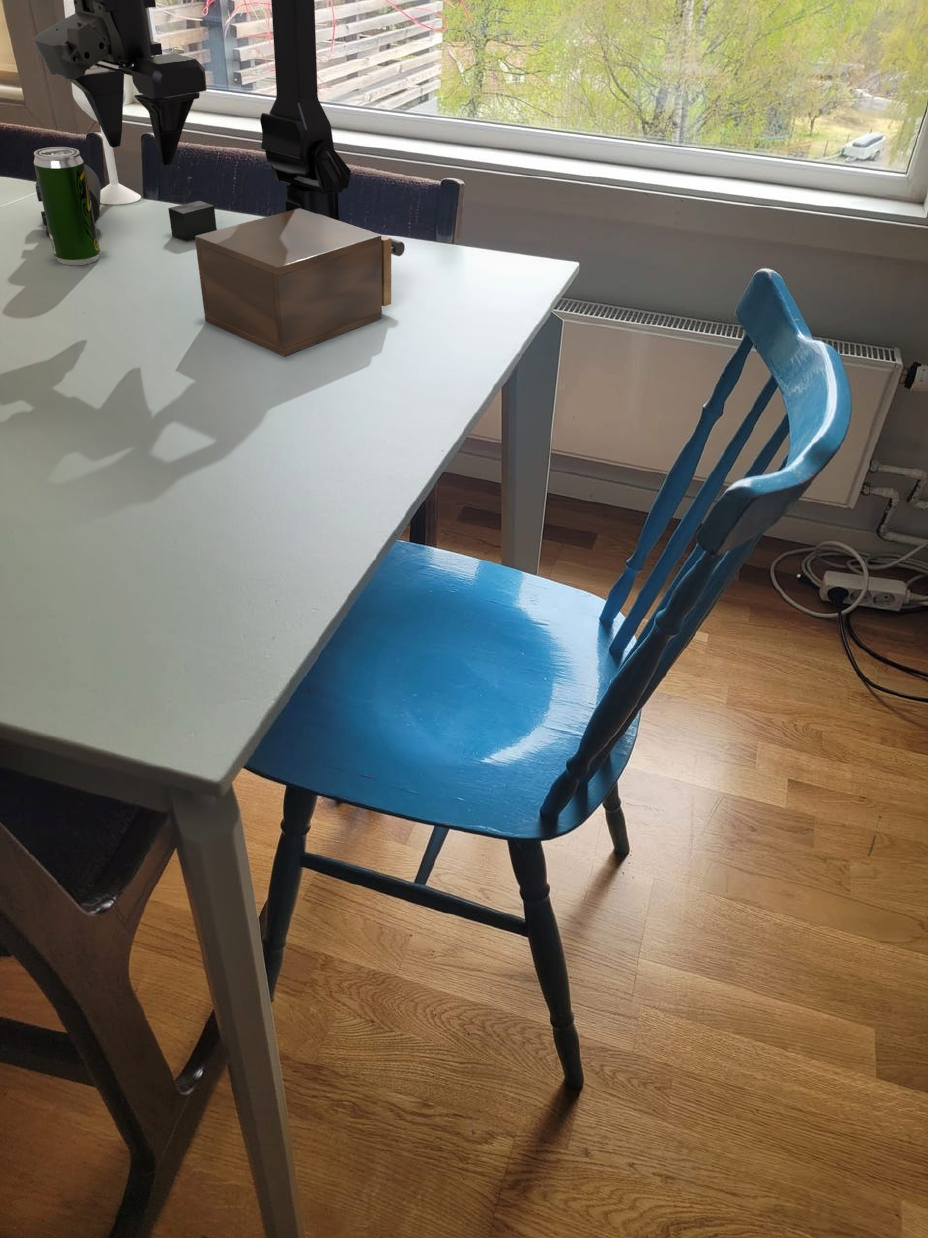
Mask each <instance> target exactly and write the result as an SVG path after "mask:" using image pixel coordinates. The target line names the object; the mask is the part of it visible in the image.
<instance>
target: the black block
mask: <svg viewBox="0 0 928 1238" xmlns="http://www.w3.org/2000/svg"><path fill="white" fill-rule="evenodd" d="M168 216H169V222H170V223H169V224H170V231H171V236H172V237H173V238H176V239H179V240H181V241H184V242H190V241H195V236H197V235H201V234H205V233H208V232H212V231H216V230H218V229H217V221H216V209H215V205H213V204H210V203H207V202H204V201H201V200H197V201H193V202H189V203H185V204H180V205H176V206H172V207H168Z"/></svg>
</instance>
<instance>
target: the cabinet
mask: <svg viewBox="0 0 928 1238" xmlns="http://www.w3.org/2000/svg"><path fill="white" fill-rule="evenodd" d="M340 221H341V220H339V221H337V220H334V219H331V218H328V217H325V216H322V215H319V214H316V213H313V212H310V211H307V210H304V209H301V208H299V209H295V210H291V211H287V212H286V211H284V212H281V213H277V214H272V215H269V216H265V217H261V218H258V219H254V220H250V221H246V222H243V223H239V224H235V225H232V226H228V227H223V228H220V229H217V230H216V231H212V232H208V233H205V234H201V235H197V236H195V239H194V241H195V249H196V250H195V251H196V256H197V257H196V258H197V264H198V265H197V266H198V273H199V281H200V289H201V299H202V307H203V314H204V321H205V323H208V324H210V325H211V326H214V327H216V328H219V329H221V330H223V331H225V332H228V333H230V334H232V335H234V336H236V337H239V338H241V339H243V340H246V341H248V342H250V343H253V344H255V345H257V346H259V347H262V348H264V349H266V350H267V351H270V352H273V353H275V354H278V355H280V356H282V357H287V356H288V355H292V354H294V353H297V352H300V351H302V350H304V349H308V348H310V347H312V346H315V345H317V344H320V343H323V342H325V341H328V340H330V339H333V338H335V337H338V336H341V335H343V334H346V333H348V332H351V331H353V330H356V329H359V328H361V327H364V326H366V325H369V324H371V323H374V322H377V321H379V320H382V318H383V312H382V311H383V306H382V257H381V235H382V234H380V235H378V234H379V233H377V234H375V233H376V232H374V233H372V232H373V231H371V232H369V231H370V230H368V231H366V230H367V229H365V230H363V229H364V228H362V229H360V228H361V227H359V228H357V227H358V226H356V227H355V225H353V224H350V223H347V222H344V221H341V222H340ZM343 222H344V223H343ZM346 223H347V224H346ZM349 224H350V225H349ZM352 225H353V226H352Z"/></svg>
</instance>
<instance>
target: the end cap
mask: <svg viewBox="0 0 928 1238" xmlns="http://www.w3.org/2000/svg"><path fill="white" fill-rule="evenodd" d="M84 167H85V173H86V178H87V183H88V189H89V194H90V199H91V205H92V210H93V215H94V221H95V224H97V222H98V219H99V217H100V211H101V203H100V194H101V190H102V188H101V183H100V179H99V177H98V174H96V172H95V170H93V169H92V168H91V167H90V166H89V165H87V164H86V163H84ZM35 181H36V182H35V192H36V196H37V201H38V203H39V202H40V203H41V202H42V198H41V194H40V189H39V184H38V180H37V179H36V180H35ZM40 214H41V219H42V220H41V221H42V224H43V226H45V235H46V236H47V237H48V238H50V235H49V230H48V226H47V221H46V216H45V212H44V210H42V211H41V210H40Z"/></svg>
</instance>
